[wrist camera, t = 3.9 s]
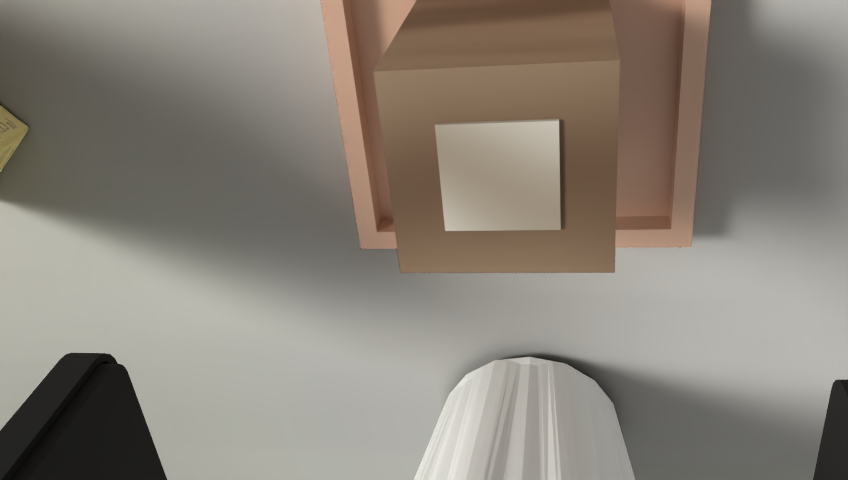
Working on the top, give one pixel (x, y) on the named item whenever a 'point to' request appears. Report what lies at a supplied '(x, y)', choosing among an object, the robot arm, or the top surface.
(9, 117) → the candy box
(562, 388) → the cup
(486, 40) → the letter block
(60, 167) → the top surface
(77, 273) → the top surface
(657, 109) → the dish middle
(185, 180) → the top surface
